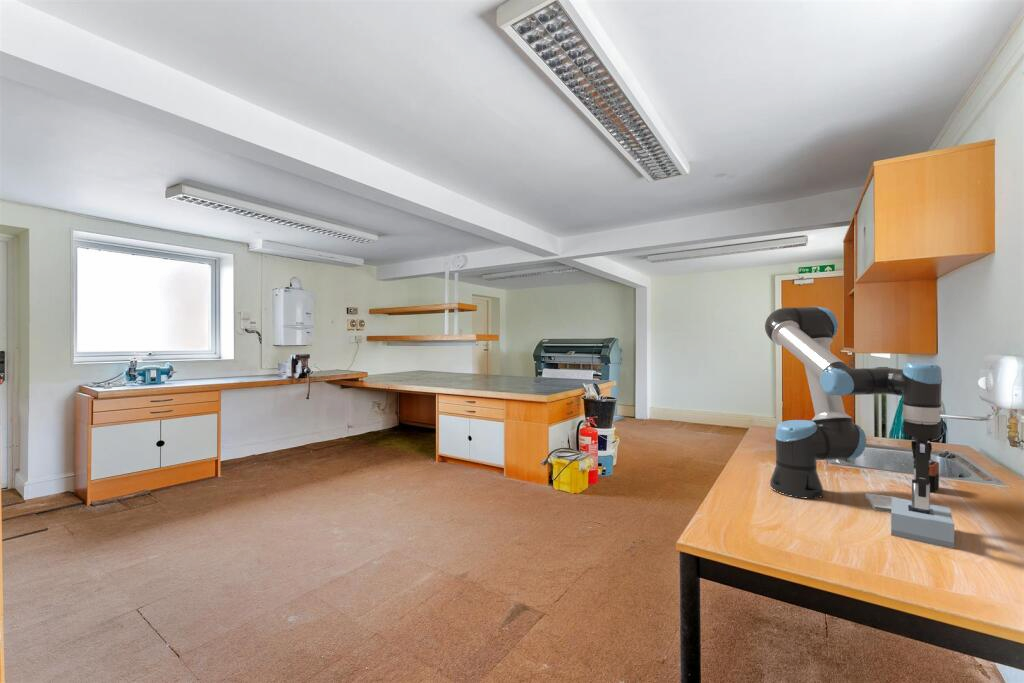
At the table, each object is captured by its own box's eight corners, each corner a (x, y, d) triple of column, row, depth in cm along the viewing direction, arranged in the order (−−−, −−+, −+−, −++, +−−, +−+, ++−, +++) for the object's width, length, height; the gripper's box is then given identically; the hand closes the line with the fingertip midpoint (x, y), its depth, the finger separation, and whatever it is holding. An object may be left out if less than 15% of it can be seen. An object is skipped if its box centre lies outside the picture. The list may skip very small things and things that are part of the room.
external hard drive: (874, 511, 137) (865, 497, 148) (909, 516, 133) (897, 501, 144) (874, 506, 137) (865, 492, 147) (909, 511, 133) (897, 496, 144)
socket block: (891, 535, 120) (891, 512, 120) (891, 517, 131) (891, 497, 131) (954, 548, 112) (954, 524, 112) (949, 529, 123) (949, 507, 123)
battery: (916, 489, 152) (917, 460, 152) (922, 485, 156) (922, 456, 156) (934, 493, 149) (934, 463, 148) (939, 488, 153) (939, 459, 152)
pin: (911, 526, 121) (912, 482, 121) (911, 522, 124) (911, 479, 124) (930, 530, 119) (930, 485, 119) (929, 525, 122) (929, 481, 122)
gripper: (944, 432, 109) (943, 519, 110) (937, 415, 128) (937, 490, 128) (903, 427, 114) (902, 511, 115) (902, 412, 133) (902, 484, 133)
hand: (920, 500), depth 121 cm, fingers open, 12 cm apart
